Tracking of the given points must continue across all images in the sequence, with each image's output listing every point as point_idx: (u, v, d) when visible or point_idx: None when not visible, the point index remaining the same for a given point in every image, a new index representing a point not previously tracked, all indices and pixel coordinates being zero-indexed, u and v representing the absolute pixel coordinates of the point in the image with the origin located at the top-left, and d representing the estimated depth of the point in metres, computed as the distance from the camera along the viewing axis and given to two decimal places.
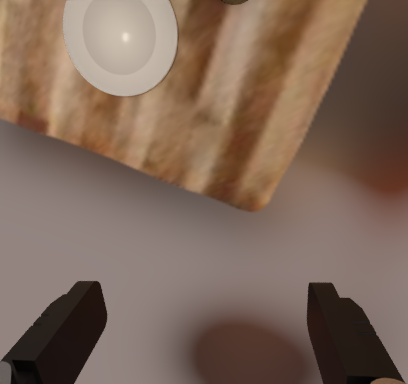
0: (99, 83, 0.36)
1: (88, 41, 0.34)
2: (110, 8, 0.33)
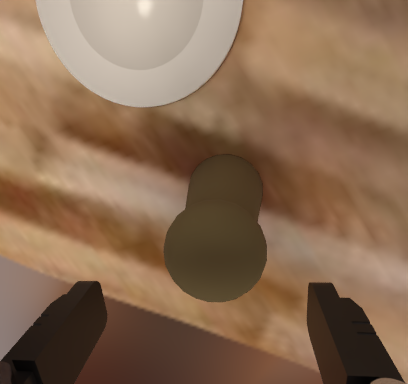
0: None
1: None
2: None
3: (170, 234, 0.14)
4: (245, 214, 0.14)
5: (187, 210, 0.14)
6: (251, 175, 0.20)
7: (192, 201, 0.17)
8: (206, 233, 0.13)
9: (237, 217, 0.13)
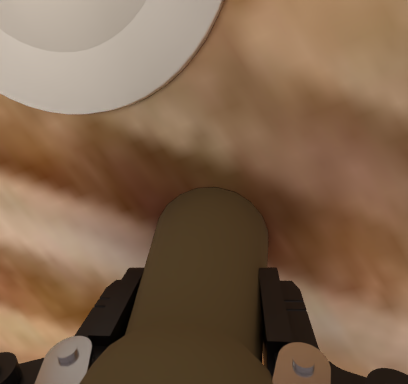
0: None
1: None
2: None
3: None
4: None
5: (106, 371, 0.06)
6: (252, 226, 0.13)
7: (142, 296, 0.09)
8: None
9: None
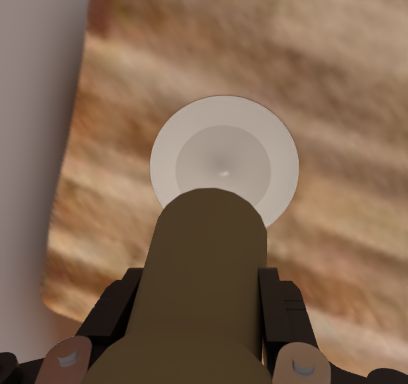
0: (163, 139, 0.26)
1: (215, 132, 0.26)
2: (251, 167, 0.26)
3: None
4: None
5: (106, 371, 0.06)
6: (251, 226, 0.13)
7: (142, 297, 0.09)
8: None
9: None
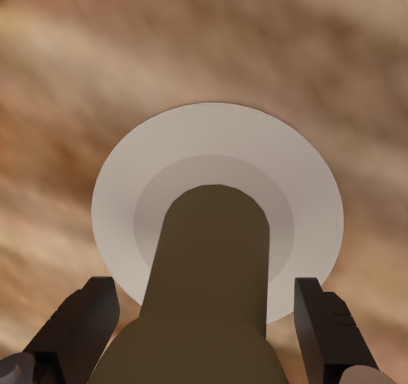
0: (111, 178, 0.15)
1: (197, 166, 0.15)
2: None
3: None
4: (252, 356, 0.06)
5: (127, 343, 0.06)
6: (255, 220, 0.13)
7: (154, 284, 0.10)
8: None
9: (234, 378, 0.06)
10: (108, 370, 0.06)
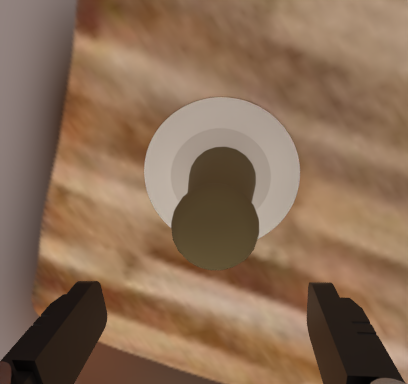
0: (158, 143, 0.25)
1: (212, 135, 0.24)
2: None
3: (177, 211, 0.16)
4: (241, 195, 0.16)
5: (192, 191, 0.16)
6: (246, 165, 0.23)
7: (194, 186, 0.19)
8: (208, 209, 0.15)
9: (234, 196, 0.15)
10: (185, 199, 0.16)
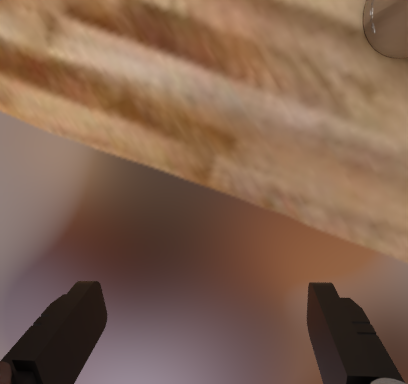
0: None
1: None
2: None
3: None
4: None
5: None
6: None
7: None
8: None
9: None
10: None
